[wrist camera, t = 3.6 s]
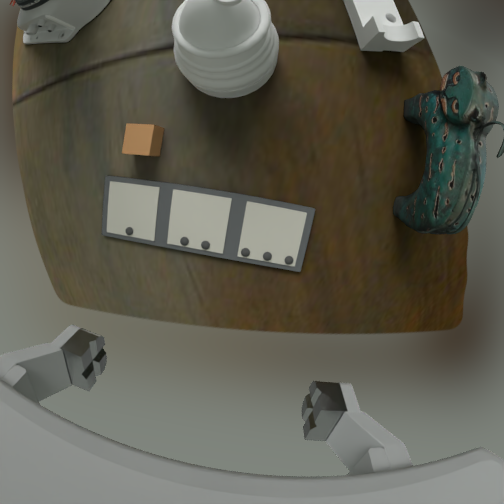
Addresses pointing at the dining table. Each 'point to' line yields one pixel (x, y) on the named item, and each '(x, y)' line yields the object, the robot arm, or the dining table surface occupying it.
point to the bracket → (381, 26)
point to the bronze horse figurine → (450, 152)
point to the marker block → (143, 139)
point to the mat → (207, 221)
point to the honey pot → (225, 45)
